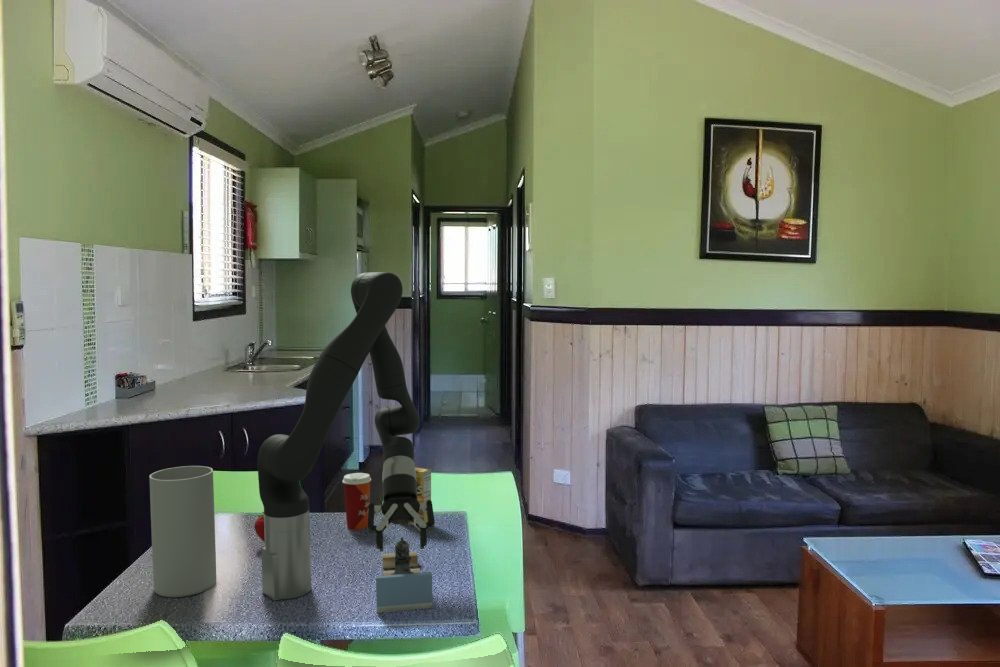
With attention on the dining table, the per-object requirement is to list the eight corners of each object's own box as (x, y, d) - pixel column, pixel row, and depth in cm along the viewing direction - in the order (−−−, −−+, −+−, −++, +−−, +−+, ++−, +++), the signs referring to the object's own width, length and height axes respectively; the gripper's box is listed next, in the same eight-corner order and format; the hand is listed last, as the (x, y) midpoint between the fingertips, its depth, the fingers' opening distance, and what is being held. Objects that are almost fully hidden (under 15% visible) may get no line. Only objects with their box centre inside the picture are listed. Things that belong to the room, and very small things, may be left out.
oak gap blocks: (382, 564, 169) (382, 554, 169) (417, 562, 170) (416, 551, 170) (383, 586, 156) (383, 575, 156) (420, 583, 158) (420, 572, 157)
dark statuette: (382, 596, 148) (381, 539, 148) (399, 586, 154) (398, 530, 153) (406, 601, 146) (405, 543, 145) (422, 590, 151) (421, 534, 150)
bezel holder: (376, 592, 153) (375, 560, 153) (428, 588, 155) (428, 556, 155) (376, 613, 144) (376, 578, 143) (432, 608, 145) (431, 574, 145)
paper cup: (369, 531, 193) (368, 479, 192) (340, 531, 193) (339, 479, 192) (374, 521, 200) (373, 471, 200) (346, 522, 200) (345, 472, 200)
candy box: (396, 523, 199) (395, 468, 198) (405, 519, 203) (404, 465, 202) (423, 528, 195) (422, 471, 194) (432, 523, 199) (431, 468, 198)
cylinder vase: (141, 597, 152) (136, 479, 151) (175, 574, 164) (171, 465, 163) (196, 600, 150) (192, 481, 149) (227, 576, 163) (223, 466, 161)
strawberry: (249, 548, 181) (247, 508, 180) (270, 538, 187) (269, 500, 187) (267, 551, 178) (266, 511, 177) (288, 542, 185) (287, 503, 184)
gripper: (366, 473, 159) (367, 543, 149) (431, 470, 162) (436, 538, 151) (367, 491, 165) (368, 558, 154) (430, 487, 167) (435, 554, 157)
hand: (402, 548), depth 153 cm, fingers open, 8 cm apart
